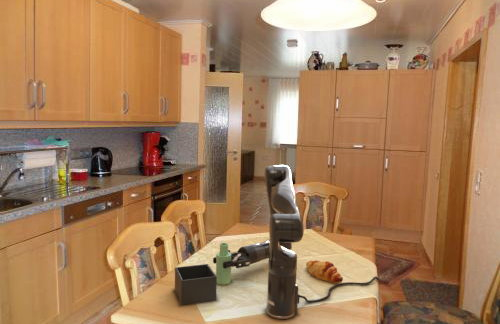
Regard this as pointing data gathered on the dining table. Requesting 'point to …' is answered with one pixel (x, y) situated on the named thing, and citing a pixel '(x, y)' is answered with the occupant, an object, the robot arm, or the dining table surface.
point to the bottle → (222, 257)
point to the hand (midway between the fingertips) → (218, 263)
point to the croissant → (324, 271)
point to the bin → (195, 284)
